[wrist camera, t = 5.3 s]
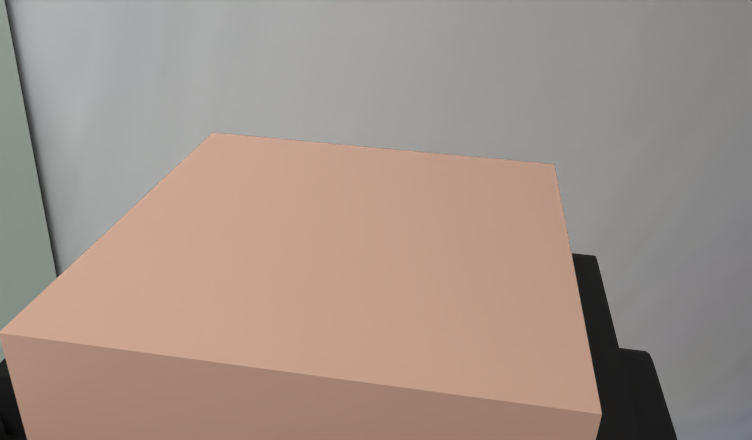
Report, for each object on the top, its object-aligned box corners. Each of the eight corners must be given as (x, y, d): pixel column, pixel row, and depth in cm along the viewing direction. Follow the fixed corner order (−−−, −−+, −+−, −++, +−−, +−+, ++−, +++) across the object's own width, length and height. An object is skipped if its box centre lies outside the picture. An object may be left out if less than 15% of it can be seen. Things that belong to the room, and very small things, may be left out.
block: (554, 164, 10) (601, 413, 5) (509, 430, 12) (516, 757, 8) (212, 132, 10) (-2, 332, 6) (232, 391, 13) (89, 673, 8)
